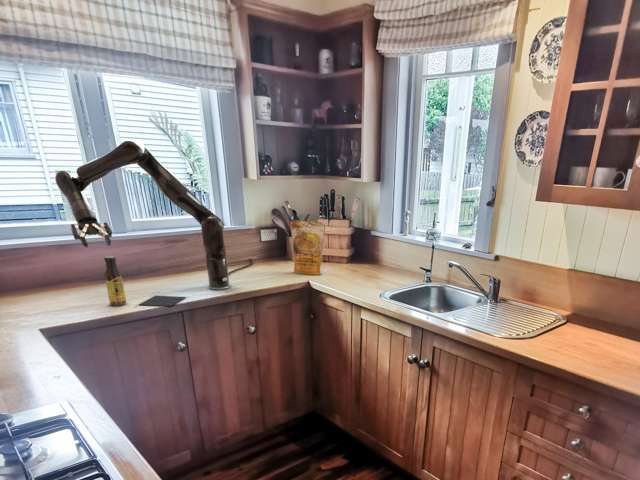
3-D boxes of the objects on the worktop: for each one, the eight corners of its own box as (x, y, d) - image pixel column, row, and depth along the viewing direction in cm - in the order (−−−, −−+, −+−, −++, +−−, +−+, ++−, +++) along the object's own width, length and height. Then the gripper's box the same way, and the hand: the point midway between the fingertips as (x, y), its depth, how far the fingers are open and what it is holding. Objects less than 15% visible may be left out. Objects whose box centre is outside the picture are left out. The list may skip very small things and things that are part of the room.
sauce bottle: (119, 306, 194) (109, 259, 186) (106, 305, 196) (96, 257, 187) (130, 302, 200) (121, 256, 192) (117, 301, 201) (107, 255, 193)
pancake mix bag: (294, 270, 266) (292, 219, 254) (326, 273, 261) (325, 221, 250) (289, 273, 260) (287, 220, 248) (321, 276, 256) (320, 223, 244)
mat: (155, 296, 210) (155, 295, 210) (185, 297, 209) (185, 297, 209) (139, 305, 197) (139, 304, 197) (171, 306, 197) (171, 305, 197)
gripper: (64, 208, 190) (79, 241, 188) (102, 207, 199) (117, 238, 197) (64, 220, 196) (78, 252, 193) (101, 218, 205) (115, 249, 203)
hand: (98, 245), depth 195 cm, fingers open, 8 cm apart
